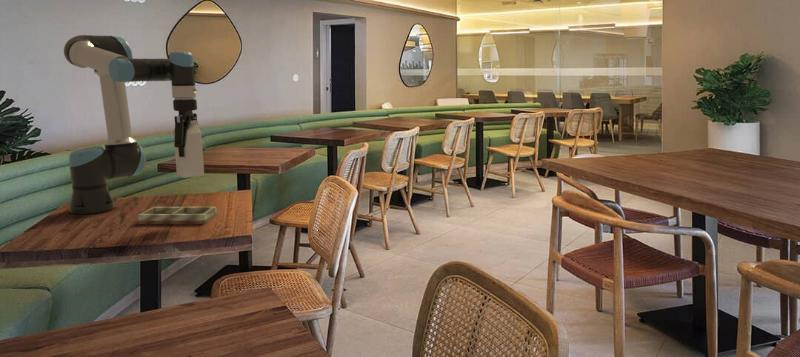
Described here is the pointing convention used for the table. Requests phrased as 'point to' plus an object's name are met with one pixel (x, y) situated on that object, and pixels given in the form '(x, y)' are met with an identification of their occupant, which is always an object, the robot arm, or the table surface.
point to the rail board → (177, 215)
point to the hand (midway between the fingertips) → (189, 164)
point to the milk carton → (191, 153)
